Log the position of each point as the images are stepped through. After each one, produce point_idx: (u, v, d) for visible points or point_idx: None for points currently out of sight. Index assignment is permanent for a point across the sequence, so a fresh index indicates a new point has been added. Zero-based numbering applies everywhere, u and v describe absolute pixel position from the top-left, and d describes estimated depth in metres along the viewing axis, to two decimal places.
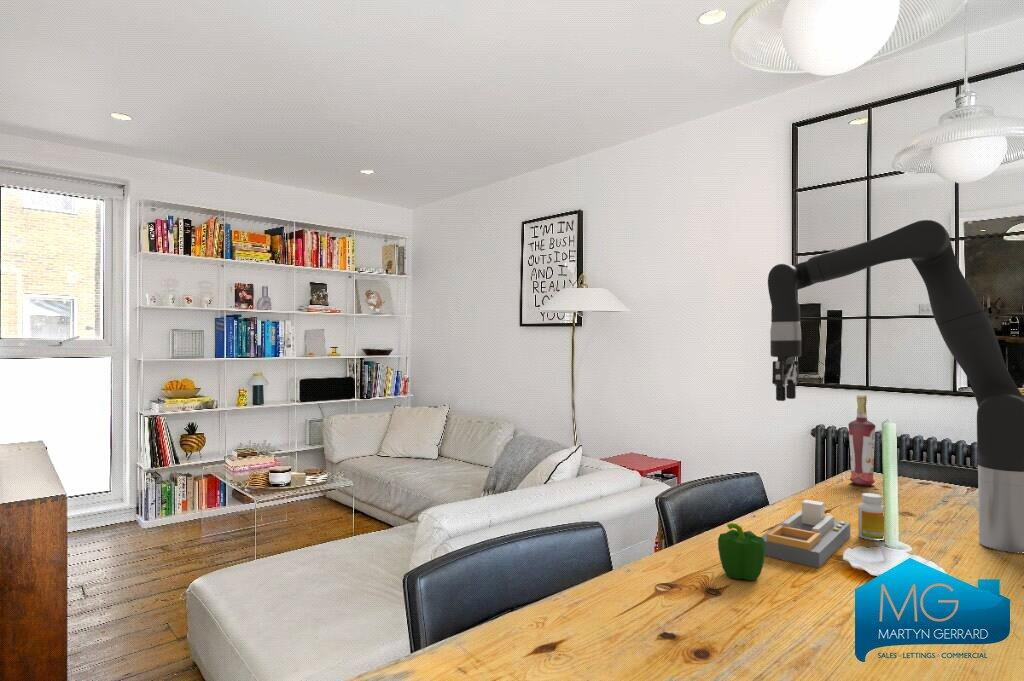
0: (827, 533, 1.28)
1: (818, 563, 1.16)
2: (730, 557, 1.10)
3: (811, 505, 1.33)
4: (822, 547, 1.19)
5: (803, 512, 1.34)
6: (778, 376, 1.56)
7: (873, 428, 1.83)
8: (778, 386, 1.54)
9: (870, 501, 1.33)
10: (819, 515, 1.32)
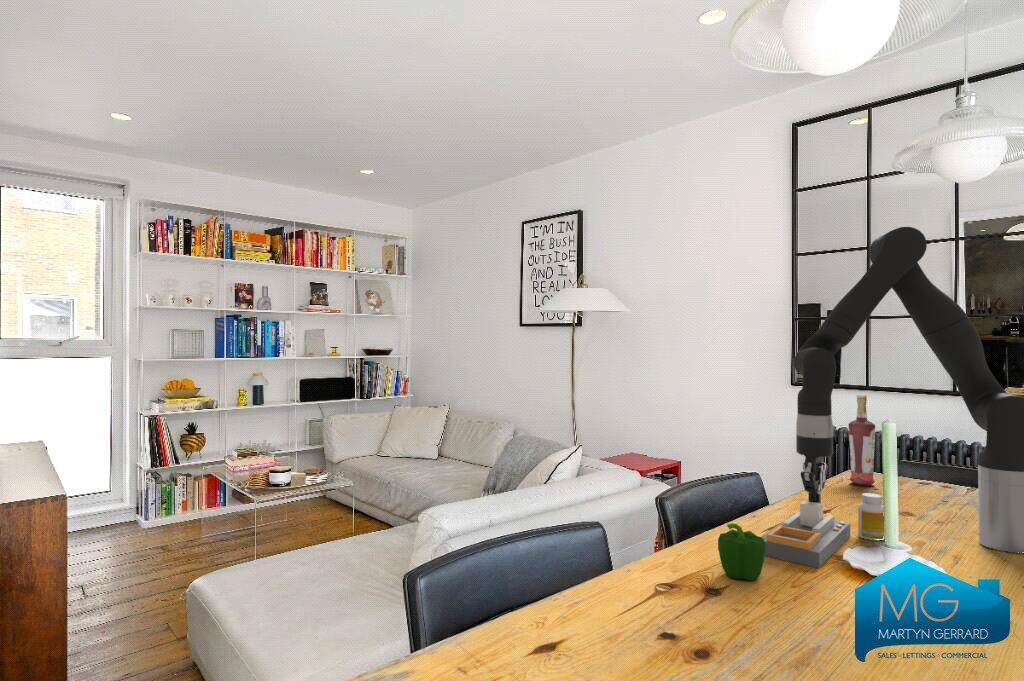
0: (827, 533, 1.28)
1: (818, 563, 1.16)
2: (730, 557, 1.10)
3: (809, 506, 1.32)
4: (822, 547, 1.19)
5: (801, 513, 1.33)
6: None
7: (873, 428, 1.83)
8: (811, 493, 1.35)
9: (870, 501, 1.33)
10: (817, 516, 1.31)
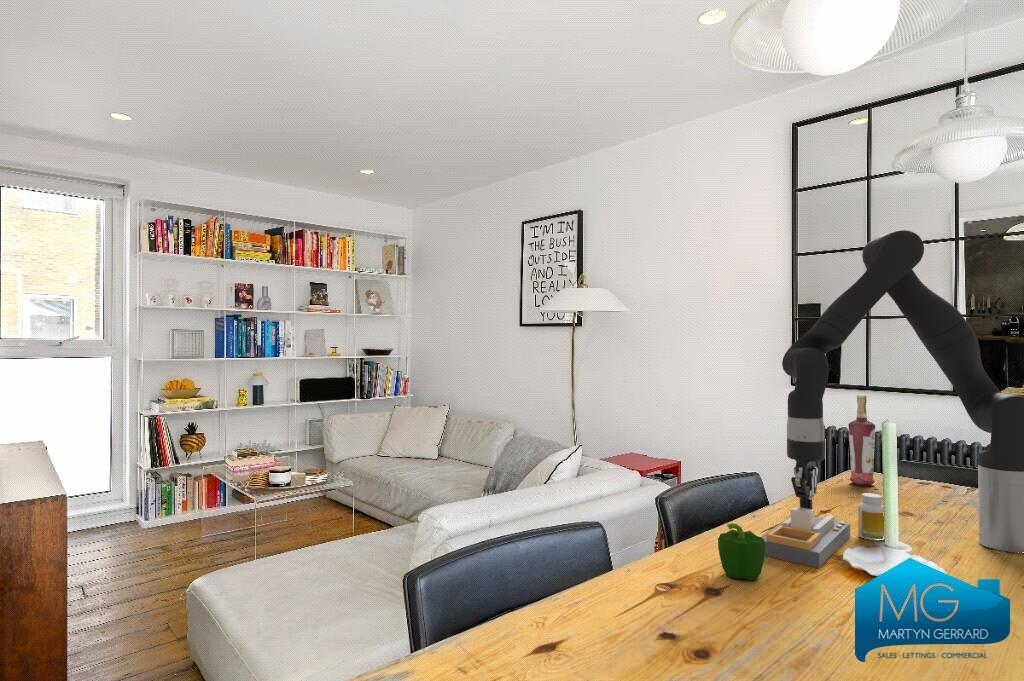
0: (827, 533, 1.28)
1: (818, 563, 1.16)
2: (730, 557, 1.10)
3: (800, 513, 1.27)
4: (822, 547, 1.19)
5: (792, 520, 1.28)
6: None
7: (873, 428, 1.83)
8: (803, 499, 1.30)
9: (870, 501, 1.33)
10: (809, 523, 1.26)
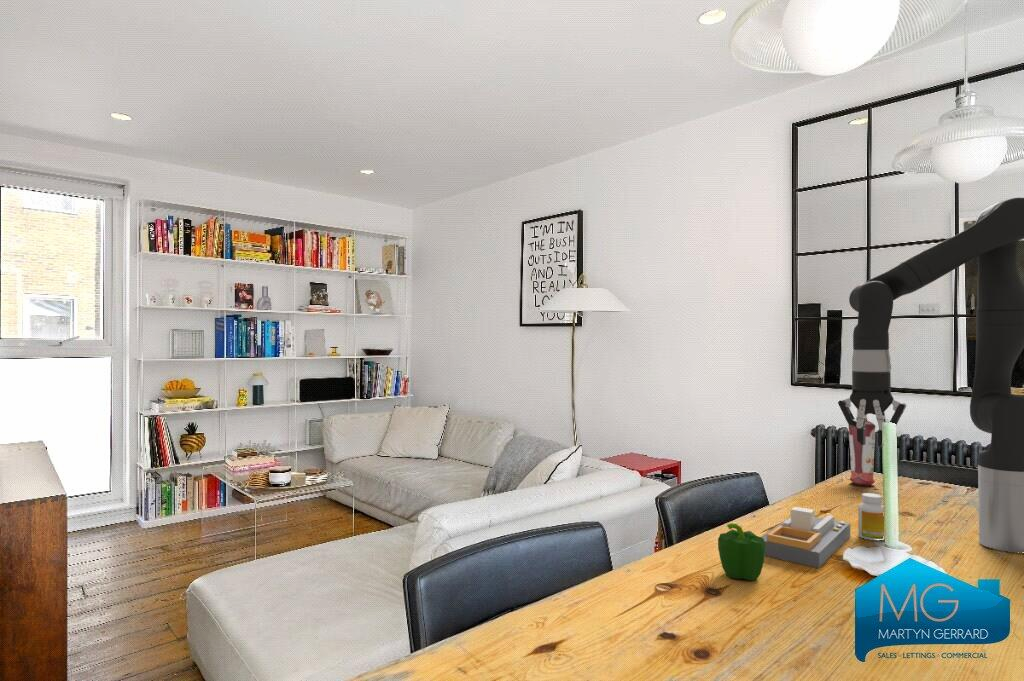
0: (827, 533, 1.28)
1: (818, 563, 1.16)
2: (730, 557, 1.10)
3: (800, 513, 1.27)
4: (822, 547, 1.19)
5: (792, 520, 1.28)
6: None
7: (873, 428, 1.83)
8: None
9: (870, 501, 1.33)
10: (809, 523, 1.26)
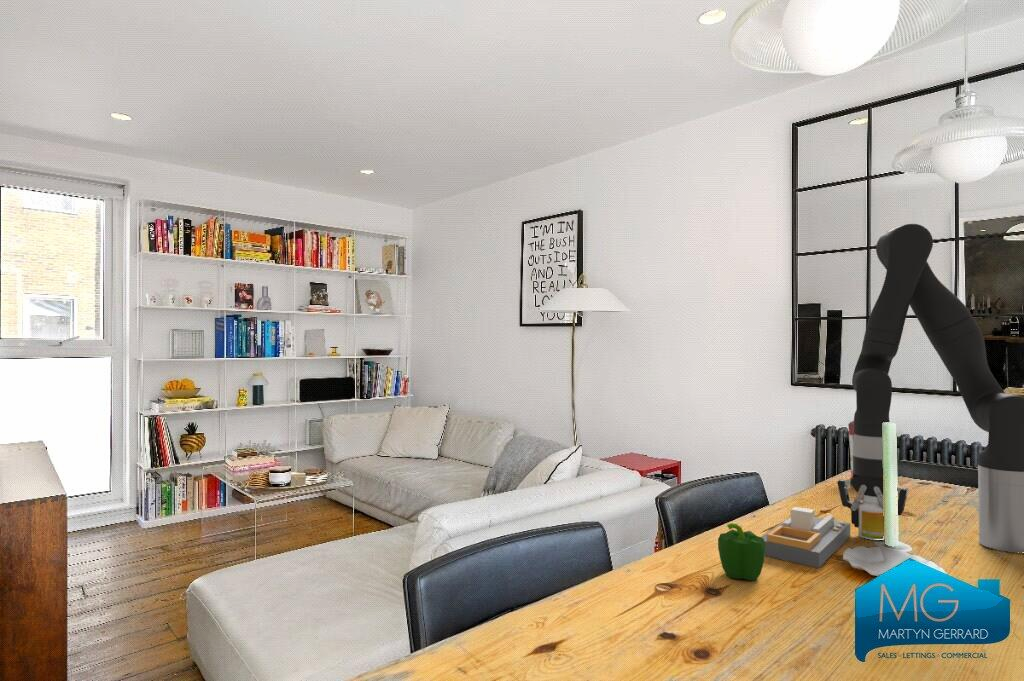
0: (827, 533, 1.28)
1: (818, 563, 1.16)
2: (730, 557, 1.10)
3: (800, 513, 1.27)
4: (822, 547, 1.19)
5: (792, 520, 1.28)
6: None
7: None
8: None
9: (870, 501, 1.33)
10: (809, 523, 1.26)
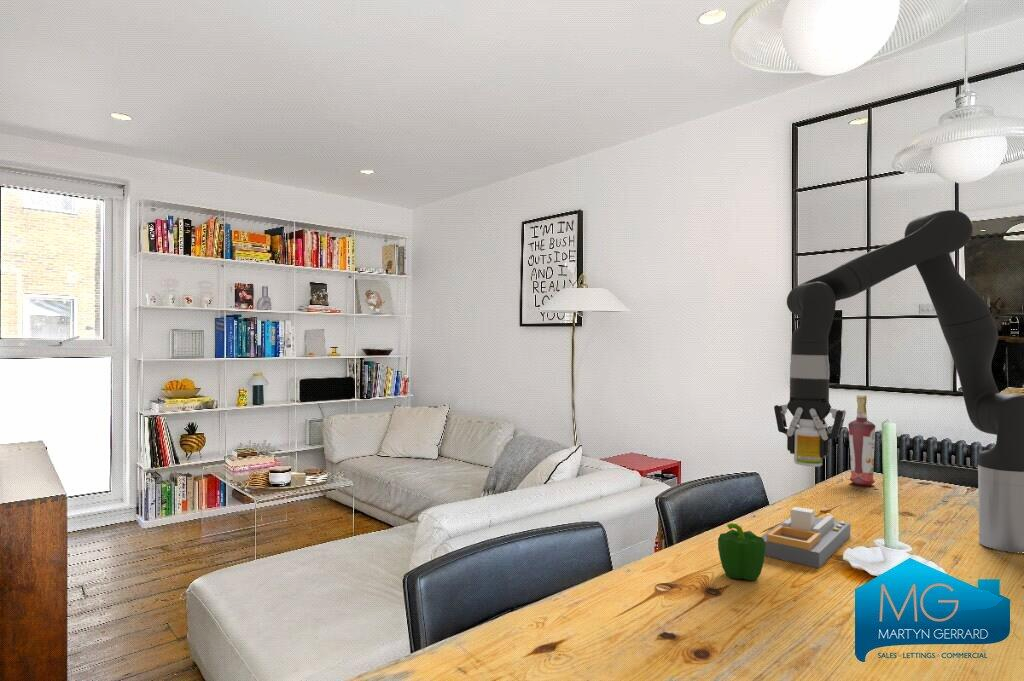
0: (827, 533, 1.28)
1: (818, 563, 1.16)
2: (730, 557, 1.10)
3: (800, 513, 1.27)
4: (822, 547, 1.19)
5: (792, 520, 1.28)
6: None
7: (873, 428, 1.83)
8: None
9: (806, 425, 1.25)
10: (809, 523, 1.26)
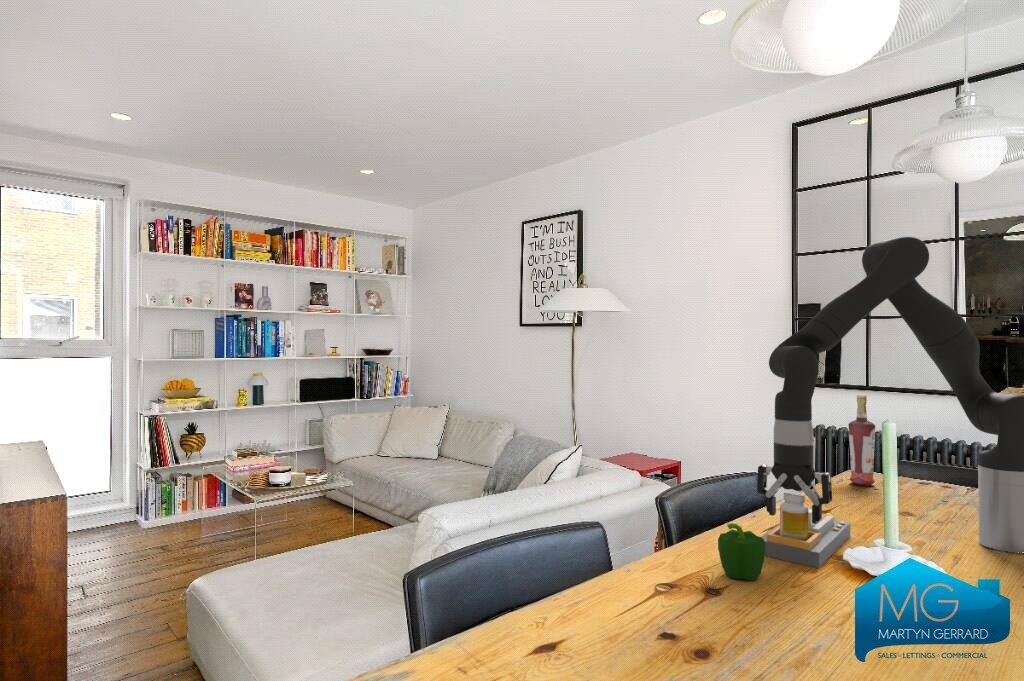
0: (827, 533, 1.28)
1: (818, 563, 1.16)
2: (730, 557, 1.10)
3: None
4: (822, 547, 1.19)
5: None
6: None
7: (873, 428, 1.83)
8: None
9: (791, 501, 1.22)
10: (809, 523, 1.26)
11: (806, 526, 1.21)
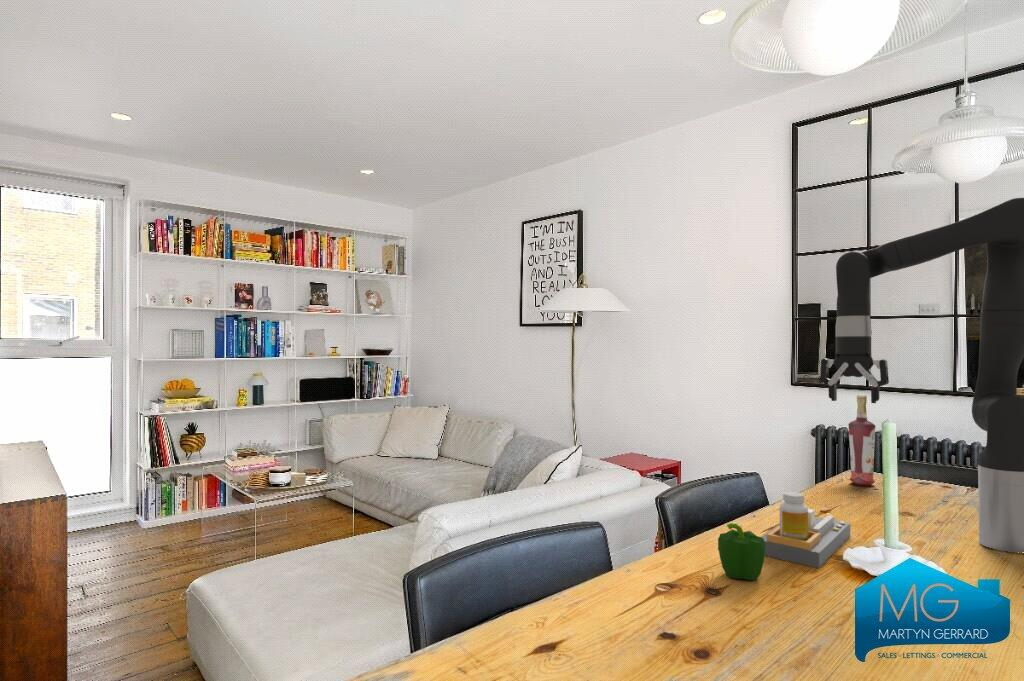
0: (827, 533, 1.28)
1: (818, 563, 1.16)
2: (730, 557, 1.10)
3: None
4: (822, 547, 1.19)
5: None
6: None
7: (873, 428, 1.83)
8: None
9: (791, 501, 1.22)
10: (809, 523, 1.26)
11: (806, 526, 1.21)
